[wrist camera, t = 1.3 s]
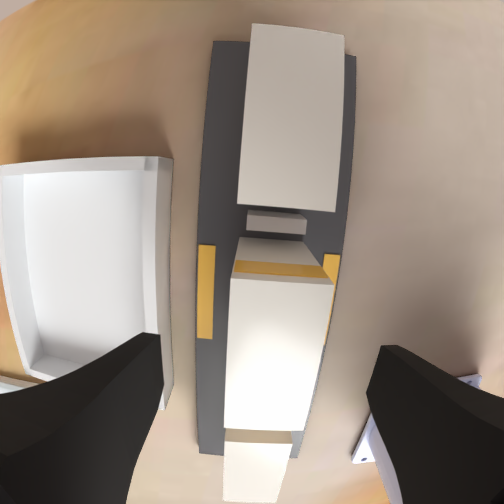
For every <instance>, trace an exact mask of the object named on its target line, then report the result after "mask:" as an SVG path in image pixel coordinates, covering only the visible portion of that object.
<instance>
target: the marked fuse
mask: <svg viewBox="0 0 504 504" xmlns="http://www.w3.org/2000/svg"><path fill="white" fill-rule="evenodd" d="M334 286H335V285H334V284H333V282H332V281H331V279H330V278H329V277H328V275H327V274H326V272H325V271H324V270H323V268H322V267H321V265H320V264H319V263H318V261H317V260H316V259H315V257H314V256H313V254H312V253H311V252H310V250H309V249H308V248H307V246H306V245H305V244H304V242H300V241H287V240H274V239H261V238H248V237H240V238H239V242H238V247H237V251H236V256H235V261H234V265H233V270H232V274H231V281H230V299H229V317H228V338H227V359H226V382H225V408H224V428H233V429H249V430H277V431H303V430H304V426H305V422H306V418H307V414H308V411H309V407H310V403H311V399H312V395H313V390H314V386H315V382H316V378H317V373H318V369H319V364H320V360H321V355H322V350H323V345H324V340H325V335H326V330H327V325H328V320H329V314H330V309H331V303H332V298H333V292H334Z"/></svg>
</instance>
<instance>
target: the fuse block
mask: <svg viewBox="0 0 504 504" xmlns="http://www.w3.org/2000/svg"><path fill="white" fill-rule="evenodd" d="M249 51H250V42H238V41H214V42H213V49H212V57H211V66H210V74H209V83H208V93H207V103H206V113H205V124H204V136H203V148H202V162H201V176H200V193H199V211H198V234H197V263H196V391H197V419H198V440H199V453H202V454H211V455H221V456H224V443H225V432H226V428H224V408H225V382H226V359H227V338H228V317H229V299H230V281H231V274H232V270H233V265H234V261H235V256H236V251H237V247H238V242H239V238H240V237H248V238H261V239H274V240H287V241H300V242H304V244H305V245H306V246H307V248H308V249H309V250H310V252H311V253H312V254H313V256H314V257H315V259H316V260H317V261H318V263H319V264H320V265H321V267H322V268H323V270H324V271H325V272H326V274H327V275H328V277H329V278H330V279H331V281H332V282H333V284H334V285H335V286H334V292H333V298H332V303H331V309H330V314H329V320H328V325H327V330H326V335H325V340H324V345H323V350H322V355H321V360H320V364H319V369H318V373H317V378H316V382H315V386H314V390H313V395H312V399H311V403H310V407H309V411H308V414H307V418H306V422H305V426H304V430H303V431H291V435H292V442H293V445H292V448H291V452H290V456H289V458H297V457H298V454H299V451H300V447H301V444H302V440H303V437H304V433H305V430H306V426H307V422H308V419H309V415H310V411H311V407H312V403H313V399H314V395H315V391H316V387H317V383H318V379H319V375H320V370H321V366H322V361H323V357H324V352H325V347H326V343H327V338H328V333H329V328H330V323H331V317H332V312H333V306H334V301H335V295H336V289H337V283H338V277H339V271H340V264H341V257H342V250H343V243H344V236H345V228H346V220H347V211H348V202H349V192H350V182H351V170H352V158H353V144H354V127H355V103H356V56H351V55H346V54H344V99H343V121H342V139H341V153H340V166H339V178H338V189H337V199H336V208H335V212H327V211H318V210H307V209H296V208H285V207H273V206H261V205H248V204H237V197H238V184H239V170H240V157H241V144H242V131H243V119H244V107H245V95H246V84H247V72H248V61H249Z"/></svg>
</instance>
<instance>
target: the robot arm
mask: <svg viewBox="0 0 504 504" xmlns="http://www.w3.org/2000/svg"><path fill="white" fill-rule="evenodd" d="M481 380H482V376H481V375H480V374H475V375H470V376H464V377H458V378H455V377H453V376H451V375H450V374H448V373H446V372H444V371H443V370H441V369H439V368H437V367H436V366H434V365H432V364H431V363H429V362H427V361H425V360H424V359H422V358H420V357H419V356H417V355H415V354H414V353H412V352H410V351H408V350H406V349H404V348H402V347H400V346H398V345H382V346H381V347H380V351H379V354H378V358H377V361H376V364H375V367H374V370H373V374H372V377H371V380H370V383H369V386H368V389H367V392H366V394H367V398H368V402H369V406H370V410H371V414H370V417H369V419H368V421H367V424H366V426H365V429H364V431H363V433H362V436H361V438H360V440H359V442H358V445H357V447H356V449H355V451H354V453H353V455H352V457H351V460H352V463H364V462H371V461H375V463H376V466H377V468H378V471H379V474H380V476H381V479H382V482H383V485H384V488H385V490H386V493H387V496H388V499H389V502H390V504H504V398H502V397H499V396H496V395H493V394H490V393H488V392H485V391H483V390H481V389H480V388H479V384H480V382H481ZM163 388H164V375H163V363H162V350H161V335H160V334H153V333H146V332H142V333H140V334H138V335H136V336H134V337H133V338H131V339H129V340H128V341H126V342H124V343H123V344H121V345H120V346H118V347H116V348H115V349H113V350H111V351H110V352H108V353H106V354H105V355H103V356H101V357H100V358H98V359H96V360H94V361H92V362H90V363H88V364H86V365H84V366H83V367H81V368H79V369H77V370H75V371H73V372H70V373H68V374H66V375H64V376H61V377H59V378H56V379H53V380H51V381H48V382H45V383H42V384H39V385H35V386H32V387H28V388H25V389H21V390H17V391H13V392H7V393H2V394H0V504H126V500H127V495H128V491H129V487H130V483H131V479H132V475H133V471H134V468H135V465H136V462H137V459H138V457H139V454H140V452H141V449H142V447H143V444H144V442H145V440H146V437H147V435H148V432H149V430H150V428H151V425H152V423H153V420H154V418H155V415H156V413H157V410H158V407H159V404H160V400H161V396H162V392H163Z"/></svg>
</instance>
